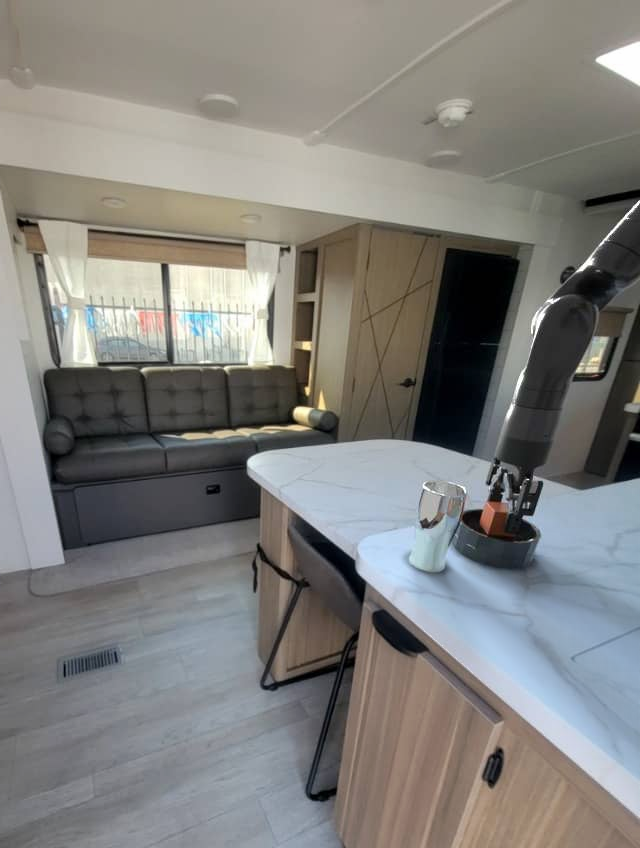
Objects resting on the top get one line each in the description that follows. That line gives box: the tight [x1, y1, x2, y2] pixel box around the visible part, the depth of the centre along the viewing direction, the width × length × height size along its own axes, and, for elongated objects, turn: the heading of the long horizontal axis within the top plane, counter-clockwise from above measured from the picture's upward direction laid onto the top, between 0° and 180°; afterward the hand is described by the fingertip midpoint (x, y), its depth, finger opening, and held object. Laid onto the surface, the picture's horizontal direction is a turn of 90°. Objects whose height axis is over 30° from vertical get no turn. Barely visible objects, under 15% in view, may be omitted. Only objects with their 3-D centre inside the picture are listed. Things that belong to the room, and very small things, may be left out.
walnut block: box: [477, 523, 515, 541], centre depth 75 cm, size 4×4×4 cm
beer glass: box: [408, 480, 468, 573], centre depth 68 cm, size 7×7×15 cm
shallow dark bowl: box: [451, 508, 542, 570], centre depth 75 cm, size 13×13×6 cm
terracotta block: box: [479, 500, 515, 536], centre depth 73 cm, size 4×4×4 cm
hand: (499, 521), depth 73 cm, fingers open, 8 cm apart
